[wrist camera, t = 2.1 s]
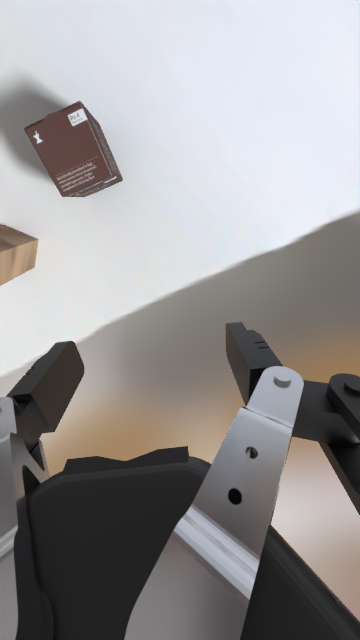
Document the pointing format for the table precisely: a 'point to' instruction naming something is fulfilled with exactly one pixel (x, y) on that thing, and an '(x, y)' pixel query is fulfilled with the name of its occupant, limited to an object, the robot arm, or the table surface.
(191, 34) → the table surface
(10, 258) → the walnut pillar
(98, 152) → the box
